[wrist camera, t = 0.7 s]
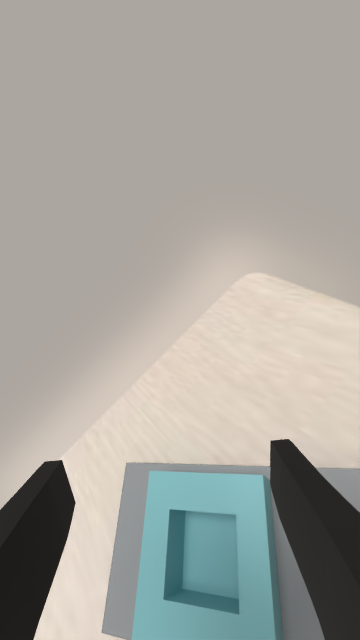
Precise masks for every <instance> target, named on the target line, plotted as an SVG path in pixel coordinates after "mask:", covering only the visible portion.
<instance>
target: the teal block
mask: <svg viewBox="0 0 360 640" xmlns="http://www.w3.org/2000/svg"><path fill="white" fill-rule="evenodd" d="M132 640H283V629H282V617H281V606H280V594H279V583H278V571H277V560H276V548H275V537H274V525H273V514H272V502H271V491H270V480H269V479H268V478H266V477H265V476H264V475H249V474H222V473H195V472H168V471H149V481H148V490H147V500H146V509H145V518H144V528H143V537H142V547H141V556H140V566H139V575H138V584H137V594H136V603H135V613H134V622H133V632H132Z"/></svg>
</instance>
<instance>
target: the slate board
mask: <svg viewBox="0 0 360 640" xmlns="http://www.w3.org/2000/svg"><path fill="white" fill-rule="evenodd" d="M316 469H317V470H318V471H319V472H320V473H321V475H322V476H323V477H324V478H325V479H326V480H327V481H328V482H329V483H330V484H331V485H332V486H333V487H334V488H335V489H336V490H337V491H338V492H339V493H340V494H341V495H342V496H343V497H344V498H345V499H346V500H347V501H348V502H349V503H350V504H351V505H352V506H354V507H355V508H356V509H357V510H358V511H359V512H360V469H343V468H316ZM149 471H168V472H195V473H222V474H249V475H264V476H265V477H266V478H268V479H269V480H270V466H233V465H196V464H160V463H126V468H125V475H124V482H123V488H122V495H121V502H120V509H119V516H118V523H117V530H116V537H115V543H114V550H113V557H112V564H111V571H110V578H109V585H108V591H107V598H106V605H105V612H104V619H103V626H102V633H104V634H108V635H112V636H116V637H119V638H123V639H127V640H132V632H133V622H134V613H135V603H136V594H137V584H138V575H139V566H140V556H141V547H142V537H143V528H144V518H145V509H146V500H147V490H148V481H149ZM270 491H271V502H272V514H273V525H274V537H275V548H276V560H277V571H278V583H279V594H280V606H281V617H282V629H283V640H325V639H324V636H323V632H322V629H321V626H320V623H319V620H318V617H317V614H316V611H315V609H314V606H313V603H312V600H311V598H310V595H309V593H308V590H307V588H306V585H305V582H304V580H303V577H302V575H301V572H300V570H299V567H298V565H297V562H296V559H295V557H294V554H293V552H292V549H291V547H290V544H289V542H288V539H287V536H286V534H285V531H284V529H283V526H282V523H281V521H280V518H279V515H278V511H277V508H276V504H275V501H274V497H273V494H272V490H271V486H270Z"/></svg>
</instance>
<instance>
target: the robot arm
mask: <svg viewBox="0 0 360 640" xmlns="http://www.w3.org/2000/svg"><path fill="white" fill-rule="evenodd" d="M270 486H271V490H272V494H273V497H274V501H275V504H276V508H277V511H278V515H279V518H280V521H281V523H282V526H283V529H284V531H285V534H286V536H287V539H288V542H289V544H290V547H291V549H292V552H293V554H294V557H295V559H296V562H297V565H298V567H299V570H300V572H301V575H302V577H303V580H304V582H305V585H306V588H307V590H308V593H309V595H310V598H311V600H312V603H313V606H314V609H315V611H316V614H317V617H318V620H319V623H320V626H321V629H322V632H323V636H324V639H325V640H360V512H359V511H358V510H357V509H356V508H355V507H354V506H352V505H351V504H350V503H349V502H348V501H347V500H346V499H345V498H344V497H343V496H342V495H341V494H340V493H339V492H338V491H337V490H336V489H335V488H334V487H333V486H332V485H331V484H330V483H329V482H328V481H327V480H326V479H325V478H324V477H323V476H322V475H321V473H320V472H319V471H318V470H317V469H316V468H315V467H314V466H313V465H312V464H311V463H310V462H309V461H308V459H307V458H306V457H305V456H304V455H303V454H302V453H301V452H300V451H299V449H298V448H297V447H296V446H295V445H294V444H293V443H292V442H291V441H290V440H289V439H284V440H274V441H271V451H270ZM74 507H75V499H74V496H73V493H72V490H71V487H70V484H69V481H68V478H67V474H66V471H65V468H64V465H63V462H62V460H59V461H48V462H44V463H43V464H42V465H41V466H40V467H39V468H38V469H37V470H36V472H35V473H34V474H33V475H32V476H31V477H30V478H29V479H28V480H27V482H26V483H25V484H24V485H23V486H22V487H21V488H20V489H19V490H18V492H17V493H16V494H15V495H14V496H13V497H12V498H11V499H10V500H9V501H8V502H7V503H6V505H4V507H3V508H2V509H1V510H0V640H33V639H34V636H35V632H36V629H37V626H38V623H39V620H40V617H41V614H42V611H43V608H44V605H45V602H46V599H47V597H48V594H49V591H50V588H51V585H52V582H53V579H54V576H55V573H56V570H57V567H58V565H59V562H60V559H61V556H62V553H63V550H64V547H65V544H66V541H67V537H68V534H69V529H70V525H71V521H72V516H73V512H74Z"/></svg>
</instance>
